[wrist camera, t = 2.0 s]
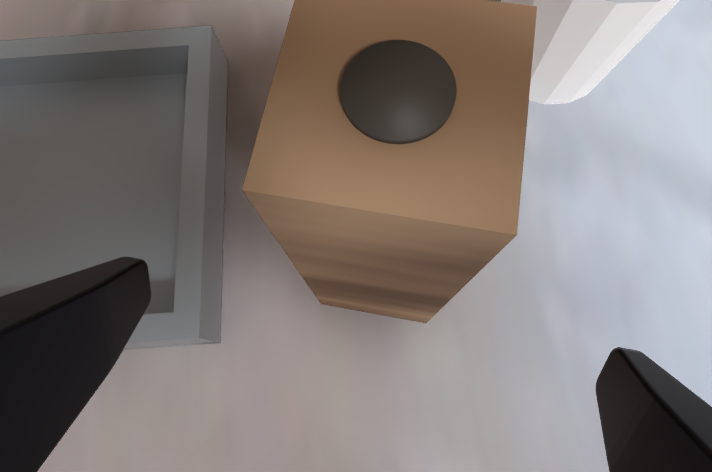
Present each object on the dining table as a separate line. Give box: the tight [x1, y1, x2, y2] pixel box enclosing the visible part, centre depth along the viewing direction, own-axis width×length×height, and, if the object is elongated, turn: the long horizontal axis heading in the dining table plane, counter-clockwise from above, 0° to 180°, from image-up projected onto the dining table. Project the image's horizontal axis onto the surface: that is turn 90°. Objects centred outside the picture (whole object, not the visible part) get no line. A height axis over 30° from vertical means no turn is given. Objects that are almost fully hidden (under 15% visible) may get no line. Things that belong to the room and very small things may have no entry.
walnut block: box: [242, 0, 537, 323], centre depth 14 cm, size 4×4×13 cm
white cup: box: [501, 0, 679, 104], centre depth 19 cm, size 7×7×7 cm
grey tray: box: [0, 25, 228, 349], centre depth 20 cm, size 14×14×2 cm
